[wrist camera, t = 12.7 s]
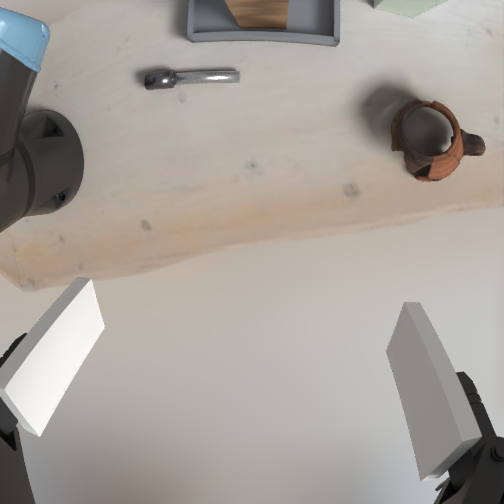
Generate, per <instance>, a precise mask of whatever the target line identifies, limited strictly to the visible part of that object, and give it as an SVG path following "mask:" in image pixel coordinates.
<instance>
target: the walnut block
mask: <svg viewBox="0 0 504 504" xmlns="http://www.w3.org/2000/svg"><path fill="white" fill-rule="evenodd" d="M224 1H225V2H226V4H227V6H228V7H229V9H230V11H231V12H232V14H233V16H234V18H235V19H236V21H237V23H238V25H239V26H240V28H266V29H286V28H287V16H288V5H289V0H224Z"/></svg>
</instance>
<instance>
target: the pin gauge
mask: <svg viewBox="0 0 504 504" xmlns="http://www.w3.org/2000/svg"><path fill="white" fill-rule="evenodd" d="M239 81H240V71H204V72H185V73H175V72H174V70H165V71H155V72H147V73H146V75H145V80H144V82H145V87H146V89H147V90H154V89H165V88H173V87H174V86H175V85H178V84H196V83H239Z"/></svg>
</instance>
